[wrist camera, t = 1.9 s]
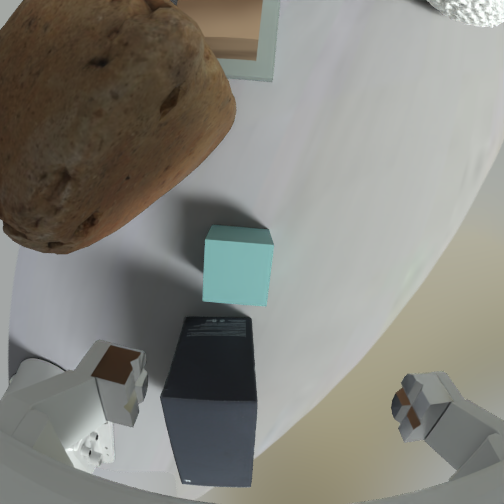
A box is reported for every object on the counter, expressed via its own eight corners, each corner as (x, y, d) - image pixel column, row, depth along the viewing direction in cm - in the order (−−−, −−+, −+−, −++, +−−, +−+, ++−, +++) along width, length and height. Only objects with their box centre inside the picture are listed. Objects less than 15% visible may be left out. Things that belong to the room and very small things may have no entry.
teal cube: (263, 281, 29) (266, 306, 24) (209, 277, 28) (202, 301, 24) (268, 229, 27) (273, 245, 22) (212, 224, 27) (205, 239, 22)
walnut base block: (256, 60, 21) (258, 39, 17) (184, 58, 21) (170, 37, 16) (262, 4, 20) (265, -24, 15) (193, 1, 19) (183, -26, 15)
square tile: (271, 82, 23) (272, 78, 22) (168, 77, 23) (164, 74, 21) (279, -1, 20) (280, -7, 19) (182, -4, 20) (179, -10, 19)
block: (184, 67, 22) (73, -72, 3) (247, 119, 24) (252, 11, 5) (106, 160, 25) (-83, 191, 6) (164, 212, 26) (19, 331, 7)
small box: (250, 407, 34) (252, 489, 22) (194, 405, 33) (180, 485, 22) (254, 316, 30) (258, 403, 18) (184, 313, 29) (155, 397, 18)
